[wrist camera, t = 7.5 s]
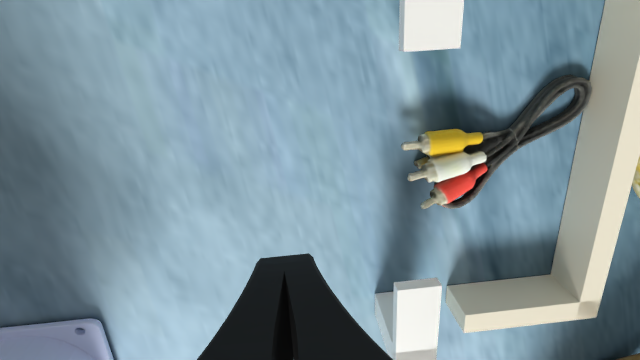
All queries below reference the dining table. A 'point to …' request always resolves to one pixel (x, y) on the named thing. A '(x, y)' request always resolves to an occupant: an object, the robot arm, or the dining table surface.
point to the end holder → (578, 197)
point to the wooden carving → (631, 357)
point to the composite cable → (488, 146)
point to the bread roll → (637, 179)
